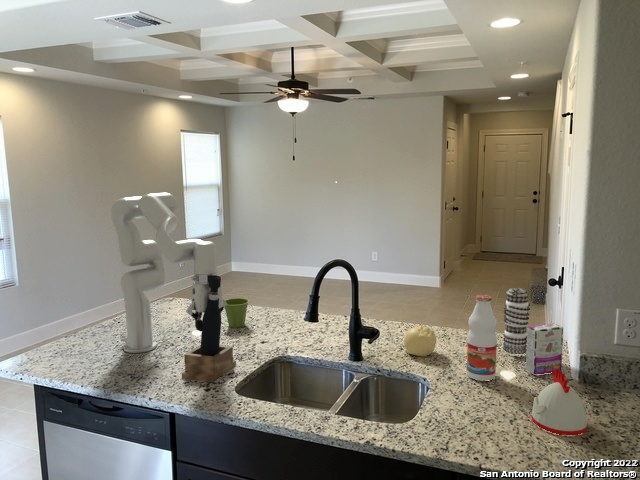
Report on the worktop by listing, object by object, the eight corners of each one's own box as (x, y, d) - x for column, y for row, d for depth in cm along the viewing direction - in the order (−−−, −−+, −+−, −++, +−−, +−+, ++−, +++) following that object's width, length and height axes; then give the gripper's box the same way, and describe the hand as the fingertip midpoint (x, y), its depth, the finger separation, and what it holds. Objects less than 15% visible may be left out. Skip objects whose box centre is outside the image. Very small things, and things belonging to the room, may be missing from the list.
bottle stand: (181, 377, 175) (180, 356, 174) (207, 360, 190) (206, 341, 189) (212, 382, 171) (211, 360, 170) (236, 364, 185) (235, 344, 184)
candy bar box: (551, 367, 180) (554, 322, 178) (561, 373, 176) (564, 327, 173) (524, 371, 177) (526, 325, 175) (533, 377, 173) (536, 330, 170)
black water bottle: (214, 362, 176) (220, 282, 167) (196, 358, 177) (202, 278, 168) (221, 354, 182) (227, 276, 173) (204, 350, 183) (210, 272, 174)
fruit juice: (496, 373, 176) (500, 294, 172) (493, 384, 167) (497, 301, 163) (468, 369, 179) (471, 291, 175) (464, 379, 171) (466, 298, 167)
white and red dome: (570, 411, 149) (573, 362, 146) (597, 436, 135) (601, 382, 133) (523, 412, 148) (525, 363, 146) (545, 437, 134) (548, 383, 132)
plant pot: (221, 323, 235) (220, 299, 234) (247, 320, 239) (246, 297, 237) (225, 330, 224) (224, 305, 222) (251, 328, 228) (251, 303, 226)
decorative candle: (533, 356, 191) (536, 291, 188) (512, 358, 189) (515, 293, 185) (517, 347, 200) (520, 285, 196) (496, 350, 198) (499, 287, 194)
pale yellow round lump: (434, 360, 188) (434, 332, 186) (401, 357, 192) (402, 329, 190) (437, 350, 198) (438, 323, 197) (406, 346, 202) (407, 320, 201)
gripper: (188, 283, 167) (191, 336, 169) (233, 275, 179) (234, 325, 181) (177, 279, 172) (180, 331, 175) (221, 272, 184) (223, 320, 186)
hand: (207, 327), depth 178 cm, fingers closed on black water bottle, 6 cm apart
